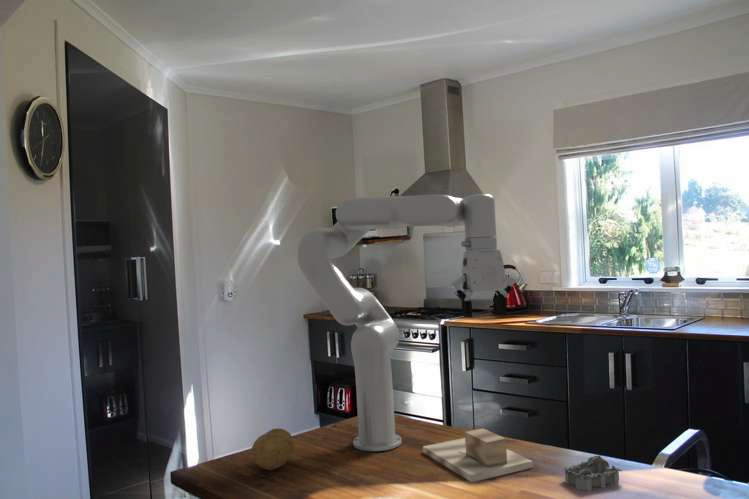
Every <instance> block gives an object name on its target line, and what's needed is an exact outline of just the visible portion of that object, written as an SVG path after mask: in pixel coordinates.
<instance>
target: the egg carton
mask: <svg viewBox="0 0 749 499" xmlns="http://www.w3.org/2000/svg"><path fill="white" fill-rule="evenodd" d="M562 471H563V472H564V476H565V477H564V480H565V483H566V484H573V485H575V488H576V489H577V490H584V491H592V489H593V487H599V488H606V484H613V485H618V483H619V484H620V482H619V480H620V473H619V472H623V469H620V468H619V467H617V468H616V467H615V465H612V466H611V467H610V464H609V462H608V461H607V460H606V459H604V458H603V457H602V455H601V454H599V455H594V456H591V457H589V458H588V459H587V461H581V463H579V464H573V465H571V466H569V467H565V468H562Z"/></svg>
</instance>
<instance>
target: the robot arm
mask: <svg viewBox="0 0 749 499" xmlns="http://www.w3.org/2000/svg"><path fill="white" fill-rule="evenodd" d="M495 204H496V203H495V197H494V196H493V195H492V194H489V193H488V194H487V193H480V194H477V193H476V194H471V195H467V196H465V197H455V196H451V195H448V194H423V195H422V194H416V195H390V196H364V197H363V196H362V197H348V198H345V199H343V200H342V201H340V202H339V203H338V204H337V206H336V208H335V218H336V222H335V223H334V225H333V226H332V227H316V228H312V229H309V230H308V231H307V232H305V233H304V234H303V236H302V237H301V238H300V241H299V243H298V246H297V251H296V254H297V255H296V256H297V263H298V266H299V268H300V270H301V273H302V274H303V276H304V277H305V279H306V281H308V283H309V284H310V286H311V287H312V288H313V289H314V291H315V292H316V294H317V296H318V297H319V298H320V299H321V301H322V303H323V304H324V305H325V307H326V308H327V309H328V311H329V313H330V314H331V315H332V316H333V318H334V319H335V321H336V322H337V323H339V324H340V325H343V326H353V325H355V326H356V327H357V328H356V330H355V331H354V333H353V334H352V337H351V342H350V349H351V355H352V360H353V365H354V375H355V387H356V388H355V389H356V408H357V426H358V436H356V437H355V438H353V440H352V443H353V447H354V448H355V449H357V450H360V451H365V452H382V451H383V452H385V451H389V450H394V449H395V448H398V447H399V446H400V445H401V444H402V437H401V436H400V435H399V434H396V425H395V424H396V422H395V409H394V408H395V407H394V406H395V405H394V388H393V387H394V385H393V374H392V373H393V372H392V366H391V362H390V356H389V353H390V352H392V351H393V350H394V349H396V347H398V345H399V341H400V331H399V328H398V325H396V323H395V321H394V320H393V319H392V317H391V316H390V314H389V313H388V312H387V311H386V309H385V308H384V306H383V305H382V304H381V302H380V301H379V299H377V297H376V296H375V295H374V294H373V293H372V292H371V291H370V290H368V289H366V288H363V287H353V285H352V284H351V283H350V282H349V280H347V278H346V277H345V275H344V274H343V272H342V271H341V270H340V269H339V268H338V267H337V266H336V265H334V263H333V262H332V261H331V259H334V260H335V259H339V258H341V257H344V256H345V255H346V254H347V253H349V252H350V251H351V250H352V249H353V248H354V247H355V245H356V244H358V243H359V242H360V241H361V240H362V239H363V238H364V237H365V236H366V235H367V233H369V231H371V230H373V231H374V230H399V229H402V228H405V227H427V226H428V227H446V228H447V227H448V228H453V227H458V226H463V225H464V241H461V243H460V245H461V247H462V248H463V247H464V249H465V251H463V255H462V261H461V276H460V277H459V278H456V279H455V280H454V281H452V282H451V283H450V286H451V288H452V289H453V291H454V294H455V295H456V296H457V298H459V299H458V300H460V301H461V312H462V316H463V318H470V319H471V318H472V317H473V303H472V300H470V299H471V297H472V296H473V294H474V293H488V292H489V293H490V292H494V293H495V294H496V298H495V305H496V306H495V307H496V308H495V309H496V310H495V311H496V314H501V315H506V314H507V298H508V297H509V293H510V292H511V290H512V287H513V284H514V282H515V280H514V278H513V277H511V276H509V275H507V274H506V271H505V266H504V261H503V260H504V259H503V255H502V252H501V249H498V243H497V241H498V240H497V225H496V224H497V223H496V222H497V221H496V205H495ZM460 286H461V287H462V290H461V287H460Z"/></svg>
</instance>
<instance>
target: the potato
mask: <svg viewBox="0 0 749 499" xmlns="http://www.w3.org/2000/svg"><path fill="white" fill-rule="evenodd" d="M251 446H252V447H251V455H252V457H253V459H254V462H255V464H257V465H258V466H259V467H260V468H261V469H264V470H267V471H268V470H269V471H273V470H276V469H278V468H281V467H282V466H284V465H286V463H287V462H288V461H289V460H290V459H291V458H292V456H293V455H294V453H295V447H296V443H295V442H294V438H293V436H292V434H291V433H290V432H289V431H288V430H286V429H283V428H279V427H278V428H272V429H270V430H269V431H267V432H265V433H264V434H261V435H260V436H258V438H257V439H255V441H254V442H253V445H251Z"/></svg>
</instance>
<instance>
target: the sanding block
mask: <svg viewBox="0 0 749 499" xmlns="http://www.w3.org/2000/svg"><path fill="white" fill-rule="evenodd" d="M464 438H465V444H466V456H468V457H470V458H472V459H473V460H475V461H477V462H479V463H481V464H483V465H484V466H486V467H488V468H489V467H493V466H498V465H502V464H506V463H507V451H506V449H507V438H506V437H504V436H502V435H499V434H496V433H495V432H492V431H490V430H488V429H485V428H484V427H483V428H477V429H472V430H468V431H464Z"/></svg>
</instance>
